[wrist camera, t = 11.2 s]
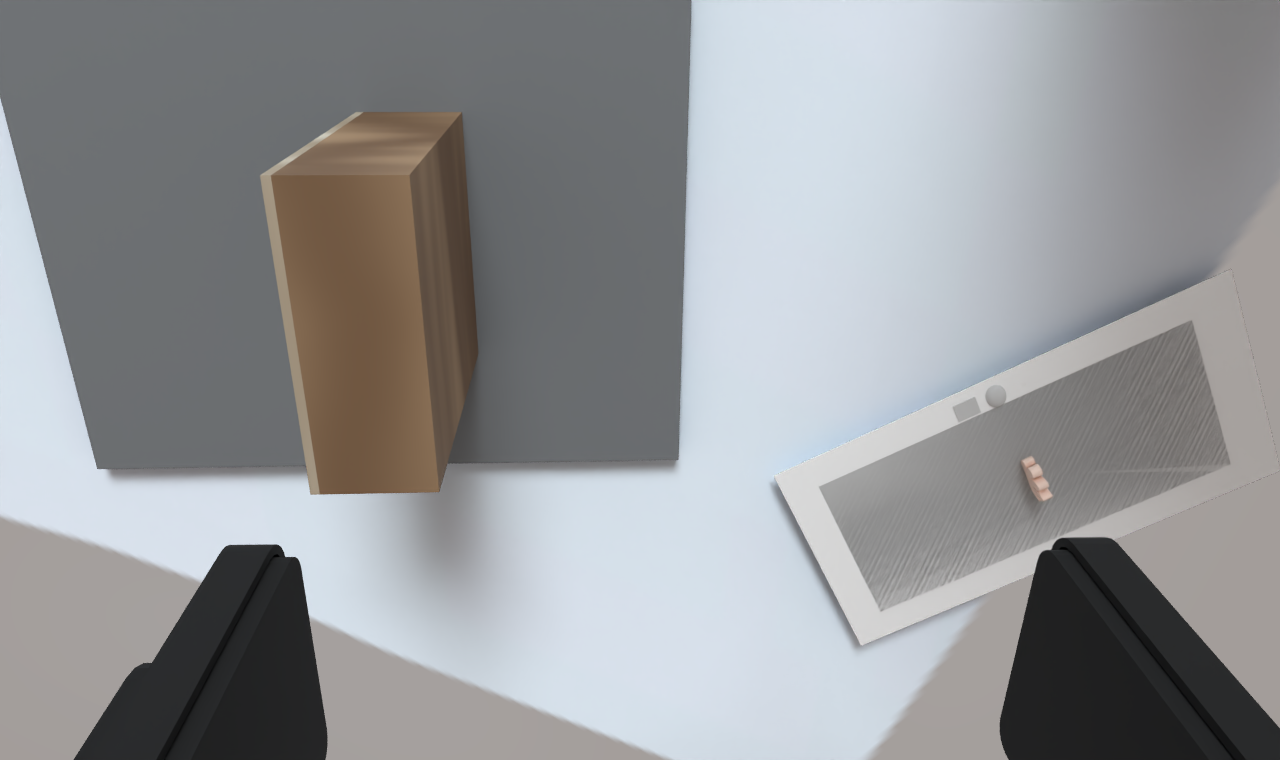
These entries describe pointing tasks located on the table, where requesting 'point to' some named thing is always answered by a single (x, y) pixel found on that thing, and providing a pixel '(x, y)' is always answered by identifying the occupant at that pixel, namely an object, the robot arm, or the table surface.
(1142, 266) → the table surface
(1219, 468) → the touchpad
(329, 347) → the brown wooden block
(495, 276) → the mat
